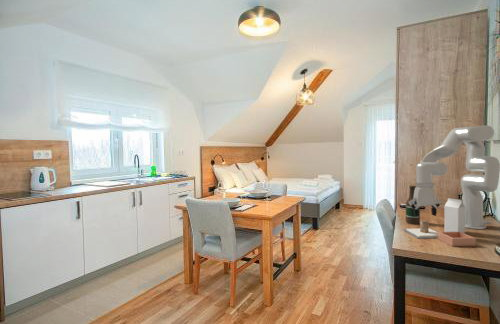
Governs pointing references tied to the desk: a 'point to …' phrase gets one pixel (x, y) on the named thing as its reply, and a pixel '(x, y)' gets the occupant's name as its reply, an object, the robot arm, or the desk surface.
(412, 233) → the mat
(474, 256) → the desk surface
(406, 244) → the desk surface
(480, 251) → the desk surface
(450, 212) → the milk carton
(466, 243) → the terracotta square tray
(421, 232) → the cover
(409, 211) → the beer bottle
